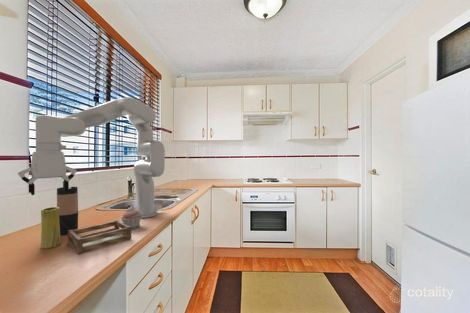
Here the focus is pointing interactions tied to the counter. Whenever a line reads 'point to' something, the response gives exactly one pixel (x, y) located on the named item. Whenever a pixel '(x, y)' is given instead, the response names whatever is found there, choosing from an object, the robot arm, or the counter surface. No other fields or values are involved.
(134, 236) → the counter surface
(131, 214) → the cupcake
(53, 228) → the vase
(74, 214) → the travel mug
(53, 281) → the counter surface
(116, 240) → the tray
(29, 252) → the counter surface
